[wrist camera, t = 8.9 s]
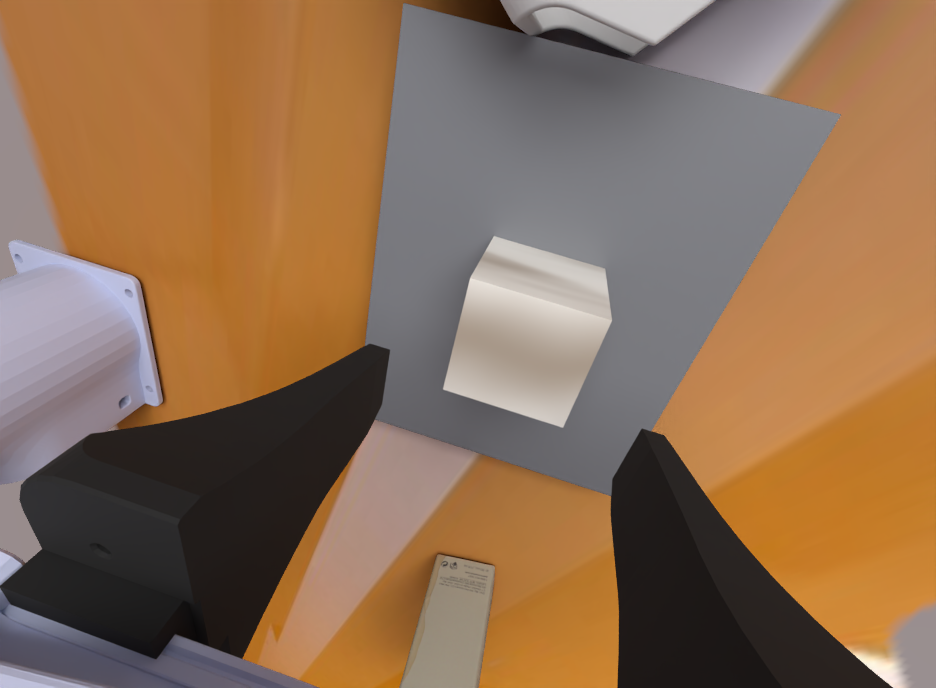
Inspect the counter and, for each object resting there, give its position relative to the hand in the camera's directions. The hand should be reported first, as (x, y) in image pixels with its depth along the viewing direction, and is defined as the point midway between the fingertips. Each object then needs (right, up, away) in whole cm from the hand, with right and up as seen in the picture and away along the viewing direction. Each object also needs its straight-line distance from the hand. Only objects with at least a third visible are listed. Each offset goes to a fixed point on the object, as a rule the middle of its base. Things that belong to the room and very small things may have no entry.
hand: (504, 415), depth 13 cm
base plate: (+2, +5, +8) cm, 9 cm away
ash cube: (+2, +4, +6) cm, 7 cm away
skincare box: (-1, -16, +21) cm, 26 cm away
